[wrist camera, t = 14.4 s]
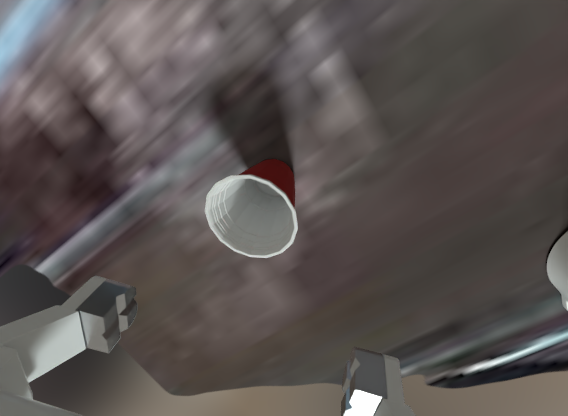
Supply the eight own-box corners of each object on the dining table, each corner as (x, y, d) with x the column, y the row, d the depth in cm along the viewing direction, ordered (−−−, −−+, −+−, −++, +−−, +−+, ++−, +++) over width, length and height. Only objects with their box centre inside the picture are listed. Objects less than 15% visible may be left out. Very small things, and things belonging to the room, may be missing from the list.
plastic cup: (221, 171, 48) (183, 210, 38) (275, 124, 43) (249, 154, 33) (270, 225, 51) (248, 275, 40) (327, 186, 46) (318, 232, 36)
